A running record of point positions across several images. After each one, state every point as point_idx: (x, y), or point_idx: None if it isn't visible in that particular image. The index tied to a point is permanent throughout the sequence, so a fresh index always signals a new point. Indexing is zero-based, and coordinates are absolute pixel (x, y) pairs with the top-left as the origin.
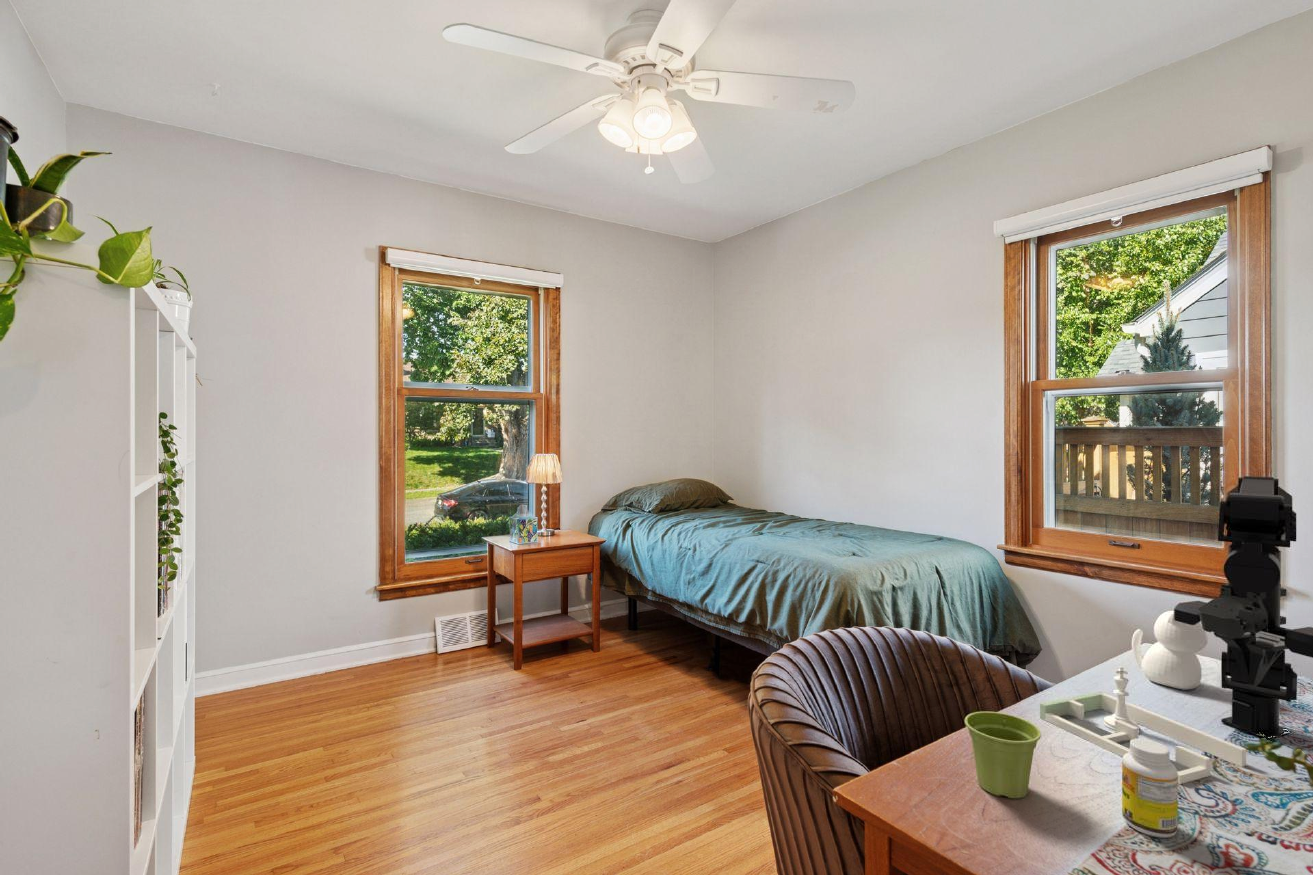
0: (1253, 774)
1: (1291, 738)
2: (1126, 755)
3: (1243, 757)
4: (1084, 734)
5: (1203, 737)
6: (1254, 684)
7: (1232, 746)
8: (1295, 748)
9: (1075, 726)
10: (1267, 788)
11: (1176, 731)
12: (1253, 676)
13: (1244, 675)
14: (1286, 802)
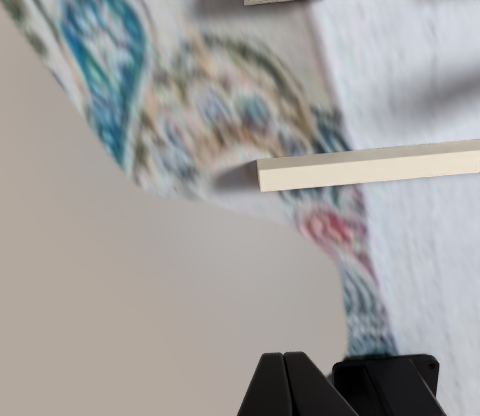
0: (218, 147)
1: None
2: None
3: (258, 172)
4: None
5: (368, 159)
6: (259, 364)
7: (285, 168)
8: None
9: None
10: (153, 102)
11: (444, 148)
12: (258, 408)
13: (328, 391)
14: (86, 71)
